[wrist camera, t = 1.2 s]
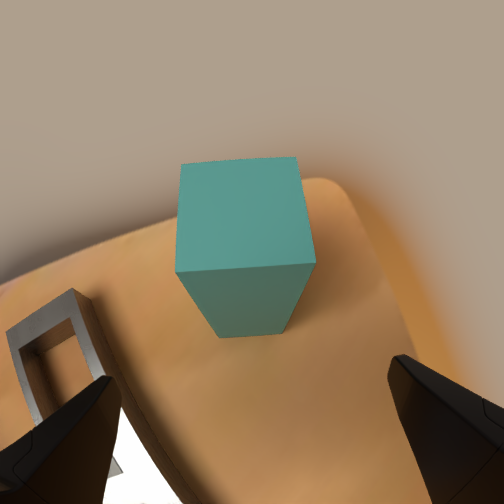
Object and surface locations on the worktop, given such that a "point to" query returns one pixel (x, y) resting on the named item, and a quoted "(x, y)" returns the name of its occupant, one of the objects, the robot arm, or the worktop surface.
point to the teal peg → (244, 243)
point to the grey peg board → (100, 363)
